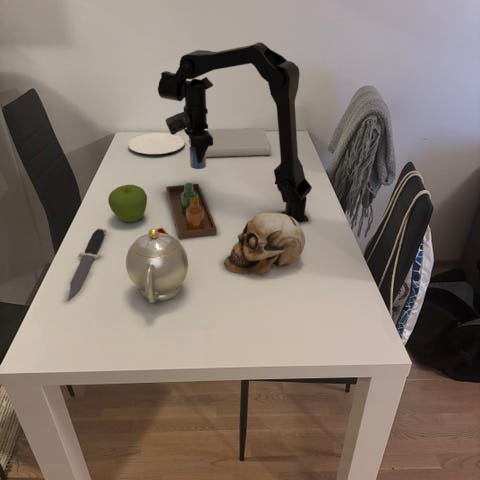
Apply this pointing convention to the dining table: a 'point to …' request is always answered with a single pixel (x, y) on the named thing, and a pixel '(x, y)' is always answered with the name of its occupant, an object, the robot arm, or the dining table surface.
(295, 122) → the robot arm
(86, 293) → the dining table surface
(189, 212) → the amber bottle
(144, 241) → the teapot
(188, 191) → the green bottle
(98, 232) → the knife
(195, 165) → the blue bottle
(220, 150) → the book
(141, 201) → the apple
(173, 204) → the tray
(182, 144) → the plate
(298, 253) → the skull
